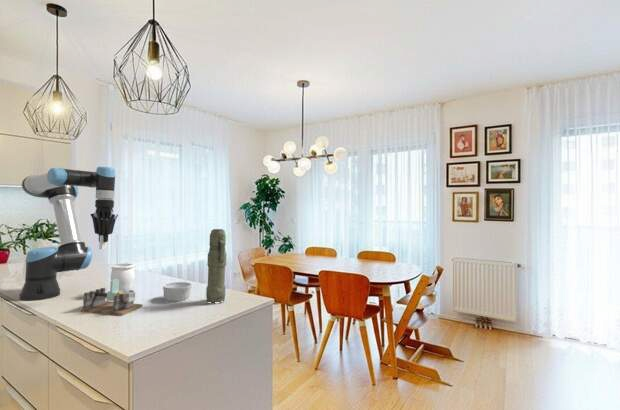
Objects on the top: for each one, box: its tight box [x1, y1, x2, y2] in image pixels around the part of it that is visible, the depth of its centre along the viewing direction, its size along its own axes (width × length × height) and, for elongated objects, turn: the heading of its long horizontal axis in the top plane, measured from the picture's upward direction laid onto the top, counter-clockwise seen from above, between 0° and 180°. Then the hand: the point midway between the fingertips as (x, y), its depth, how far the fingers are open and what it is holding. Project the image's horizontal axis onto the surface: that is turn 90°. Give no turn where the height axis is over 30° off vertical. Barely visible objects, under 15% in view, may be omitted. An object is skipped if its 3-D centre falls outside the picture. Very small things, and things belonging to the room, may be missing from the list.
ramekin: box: [162, 281, 193, 303], centre depth 159 cm, size 13×13×7 cm
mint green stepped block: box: [106, 279, 122, 302], centre depth 140 cm, size 4×4×9 cm
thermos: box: [205, 228, 227, 303], centre depth 156 cm, size 9×12×35 cm
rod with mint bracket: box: [80, 287, 143, 317], centre depth 140 cm, size 20×12×8 cm, turn 80°
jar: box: [110, 263, 136, 293], centre depth 163 cm, size 11×10×15 cm
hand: (103, 248), depth 153 cm, fingers closed
